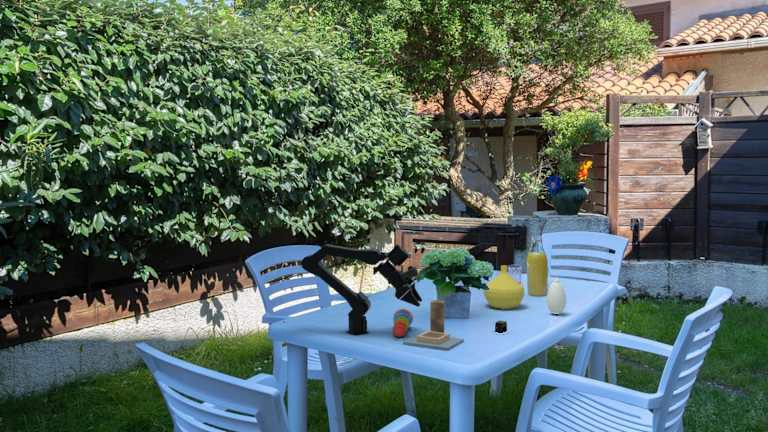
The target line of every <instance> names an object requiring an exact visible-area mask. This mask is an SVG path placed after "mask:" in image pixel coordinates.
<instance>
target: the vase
mask: <svg viewBox="0 0 768 432" xmlns="http://www.w3.org/2000/svg"><path fill="white" fill-rule="evenodd" d="M485 285H487V286H488V288H489V290H484V289H483V295H484V297H485V299H486V302H487V303H488V304H489V305H490V306H491V307H492V308H493V307H495V308H494V309H496V308H513V309H515V308H517V307H518V306H519V305H521V302H522V301H523V299H524V296H525V287H524V285H523V284H521V283H520V282H519V281H518V280H516V279H515V278H513V276H511V275H510V273H509V272H508V265H503V264H502V265H500V272H499V274H498V275H497V276H496V277H493V279H491V280H490V281H489V282H488V283H485ZM514 307H515V308H514Z"/></svg>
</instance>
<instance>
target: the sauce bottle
mask: <svg viewBox="0 0 768 432" xmlns="http://www.w3.org/2000/svg"><path fill="white" fill-rule="evenodd" d="M555 276H556V278H555V279H554V280H553V282H552V283H551V284H550V286H549V288H548V292H547V295H546V296H547V297H546V304H547V305H546V306H547V308H548V311H549V312H550V313H552V312H554V313H563V312H564V310H565V309H566V306H567V295H566V292H565V289H564V286H563V284H562V283H561V281H560V279H558V274H557V273H556V274H555Z"/></svg>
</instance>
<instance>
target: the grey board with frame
mask: <svg viewBox="0 0 768 432" xmlns="http://www.w3.org/2000/svg"><path fill="white" fill-rule="evenodd" d="M464 342H465V339H464V338H460V337H459V338H458V337H457V338H456V337H451V335H450V333H446V332H444V333H440V332H432V331H430V330H427V331H425V332H422V333H421V332H420V333H418V334H415V335H414V336H412V337H410V338H408V339H405V340H404V341H402V345H403V346H412V347H418V348H419V347H420V348H425V347H426V348H427V349H434V350H439V349H440V351H450V350H452V349H454V348H455V347H457V346H459V345H461V344H462V343H464Z"/></svg>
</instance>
